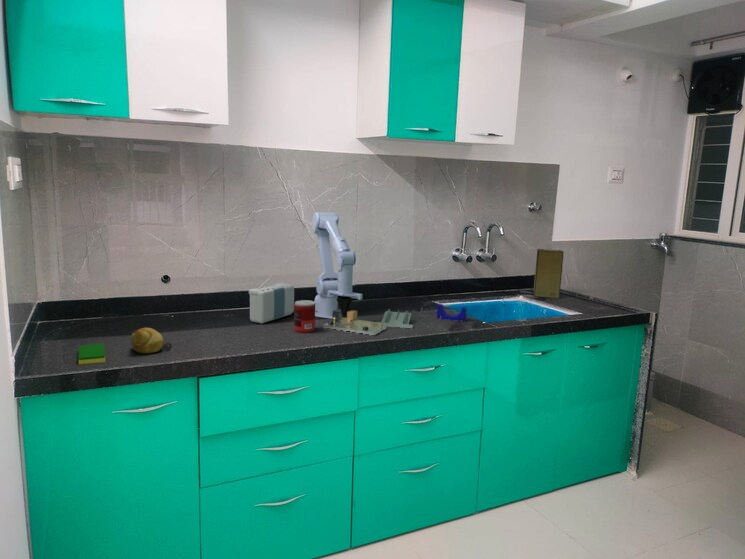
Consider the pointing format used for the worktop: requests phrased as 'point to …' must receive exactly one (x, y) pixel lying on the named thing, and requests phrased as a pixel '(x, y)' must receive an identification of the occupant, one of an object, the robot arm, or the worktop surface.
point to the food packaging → (548, 273)
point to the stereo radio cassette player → (271, 302)
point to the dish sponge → (91, 354)
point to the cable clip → (454, 317)
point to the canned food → (304, 316)
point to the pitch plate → (353, 324)
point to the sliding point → (351, 315)
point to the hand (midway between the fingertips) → (344, 315)
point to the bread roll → (147, 340)
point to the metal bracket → (396, 319)
